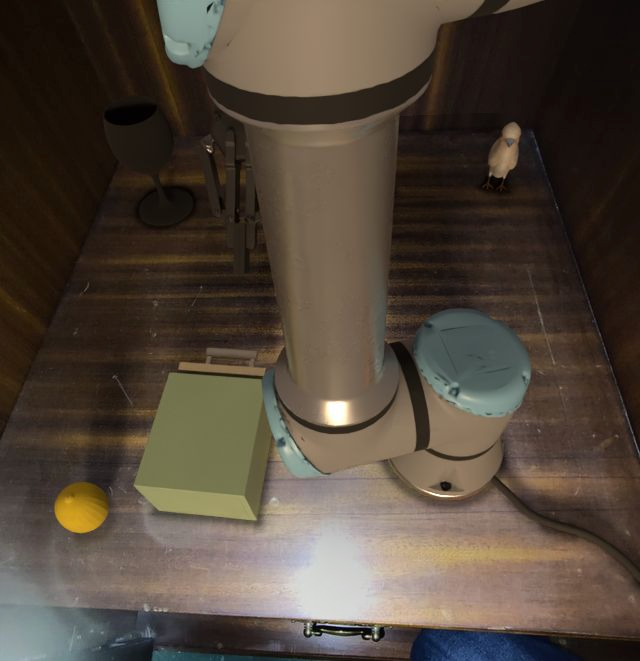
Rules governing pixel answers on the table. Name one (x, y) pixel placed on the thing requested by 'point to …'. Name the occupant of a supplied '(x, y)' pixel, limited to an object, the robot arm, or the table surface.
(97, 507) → the lemon
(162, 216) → the wine glass
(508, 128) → the bird
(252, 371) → the drawer
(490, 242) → the table surface
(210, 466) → the cabinet
